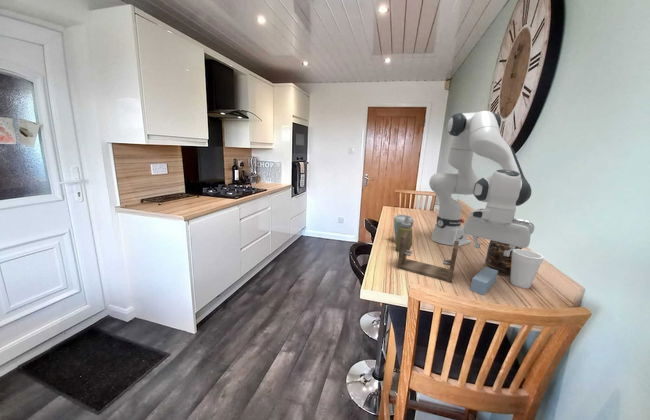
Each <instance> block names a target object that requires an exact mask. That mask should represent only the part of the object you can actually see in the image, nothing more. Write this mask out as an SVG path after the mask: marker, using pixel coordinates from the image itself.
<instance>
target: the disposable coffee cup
mask: <svg viewBox="0 0 650 420" xmlns="http://www.w3.org/2000/svg"><path fill="white" fill-rule="evenodd" d="M406 216H408V217H409V223H410V224H411V227H410V228H412V229H413V225H414V222H415V220H414V218H413V217H412V216H409V215H407V214H396V215H394V217H393V224H394V225H393V228H394V241H395V242H396V238H397V234H398V230H399V227H401V223H402V222H404V220H405V218H406Z"/></svg>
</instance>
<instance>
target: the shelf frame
mask: <svg viewBox="0 0 650 420" xmlns="http://www.w3.org/2000/svg"><path fill="white" fill-rule="evenodd" d="M409 234H410V232H407V231H406V232H405V233H404V234H403V235H402V236H401V240H400V248H399V251H398V257H397V263H396V264H397V265H396V269H399V270H402V271H406V272H410V273H413V274H418V275H421V276H425V277H428V278H431V279H435V280H436V279H437V280H440V281H444V282H447V283H451V284H452V282H453V277H454V273H455V267H456V261H457V257H458V251H459V247H458V245H459V242H458V241H454V246H453V247H452V254H451V259H447V258H444V259H443V263H442V264H443V265H444V266H449V268H446V267H441V266H437V265H433V264H429V263H425V262H422V261H417V260H412V259H410V258H409V259H408V258H407V256H408V257H411V254H413V251H412V250H407V248H408V241H409Z"/></svg>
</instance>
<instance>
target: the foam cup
mask: <svg viewBox="0 0 650 420" xmlns="http://www.w3.org/2000/svg"><path fill="white" fill-rule="evenodd" d="M511 256H512V261H511V275H510V276H509V282H510V283H511V284H512V285H513V286H516V287H518V288H522V289H530V288H531V286H532V284H533V281H534V279H535V278H536V275H537V274H538V271H539V269H540V267H541V266H542V264H543V260H544V255H542V254H541V253H538V252H536V251H531V250H528V249H525V248H522V249H513V250H512V255H511Z"/></svg>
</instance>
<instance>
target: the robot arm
mask: <svg viewBox="0 0 650 420" xmlns="http://www.w3.org/2000/svg"><path fill="white" fill-rule="evenodd" d="M501 125H502V118H501V116H500V114H499V113H495V112H492V111H489V110H480V111H475V112H463V113H462V112H458V113H454V114H452V115H451V116H450V118H449V120H448V123H447V133H448V134H449V135H450V136H452V140H451V143H450V149H449V154H448V159H447V161H448V165H450V166H451V167H452V168H454V169H456V170H457V171H458V172H457V173H449V172H439V173H434V174H433V175H432V176H431V177H430V179H429V183H428V184H429V185H428V186H429V188H430V189H431V191H433V192H434V194H435V195H436V197H437V198H438V201H439V208H438V213H437V214H438V215H437V217H436V223H435V224H434V225H435V226H434V229H433V233H432V234H431V235H430V236H431V240H432V241H433V242H435V243H438V244H441V245H445V246H446V245H447V246H451V247H452V246H454V241H458V242H459V245H458V248H459V247H462V246H465V245H469V244H471V243H472V241H471V239H468V235H469V236H472V240H473V243H474V247H473V248H475V249H478V250H479V249H480V248H481V243H480V242H479V241H478V239H480V238H481V239H484V240H489V241H490V240H493V241H497V242H501V243H505V244H509V245H510V246H509V247H510V248H511V249H509V250H505V251H504V256H507V257H509V255H510V252H511V251H512V250H513V249H514V248H515V246H517V247H522V249H525V248H528V247H530V243H531V235H532V234H533V233H534V231H535V225H534V223H532V222H531V221H530V220H526V219H525V220H524V219H520V218H515V215H516V211H517V207H519V206H522V205H523V204H525V203H526V202H527V201H528V200H529V199H530V198H531V195H532V187H531V185H530V183H529V181H528V180H527V178H526V177H525V175H524V173H523V169H522V167H521V165H520V162H519V160H518V157H517V155H516V153H515V150H514V148H513V147H512V146H511V145H510V144H508V143H507V142H506V141H505V139H504V138H503V136H502V135H501V131H500V128H501ZM474 154H476V155H477V156H479V157H483V158H486V159H488V160H492V161H494V162H496V163H498V164H499V166H501V169H497V170H494V172H493V173H492V174H491V175H489V176H487V177H481V178H480V177H479V176H477V174H476V173H475V172H474V170H473V166H472V165H473V164H472V163H473V156H474ZM452 195H464V196H468V195H473V196H474V197H475V199H477V200H478V201H479V202H482V203H486V205H485V208H478V209H472V210H471V211H470V213H469V217H467V218H466V220H465V219H462V218H461V214H462V213H461V212H462V204H461V203H460V202H459V201H458V200H456V199H455V198H453V197H452ZM462 224H464V226H462Z"/></svg>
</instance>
